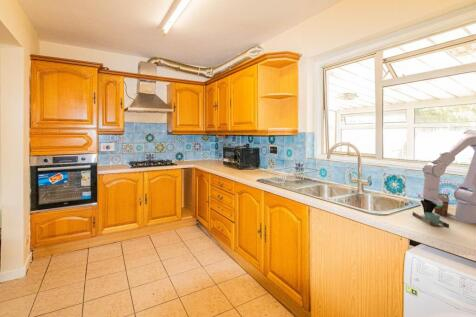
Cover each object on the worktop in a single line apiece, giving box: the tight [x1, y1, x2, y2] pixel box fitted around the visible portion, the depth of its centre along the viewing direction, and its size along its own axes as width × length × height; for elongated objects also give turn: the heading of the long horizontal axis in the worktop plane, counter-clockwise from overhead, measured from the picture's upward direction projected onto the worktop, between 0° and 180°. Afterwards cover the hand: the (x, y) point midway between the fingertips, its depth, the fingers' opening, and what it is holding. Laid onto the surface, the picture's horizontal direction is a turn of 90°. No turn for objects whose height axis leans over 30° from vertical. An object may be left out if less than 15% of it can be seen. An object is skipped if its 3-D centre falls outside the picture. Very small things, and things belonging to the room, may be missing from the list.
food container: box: [433, 192, 450, 217], centre depth 130 cm, size 12×6×10 cm, turn 141°
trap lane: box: [411, 211, 450, 229], centre depth 118 cm, size 6×16×2 cm, turn 175°
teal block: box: [424, 212, 441, 224], centre depth 116 cm, size 4×4×4 cm
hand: (427, 215), depth 119 cm, fingers closed
